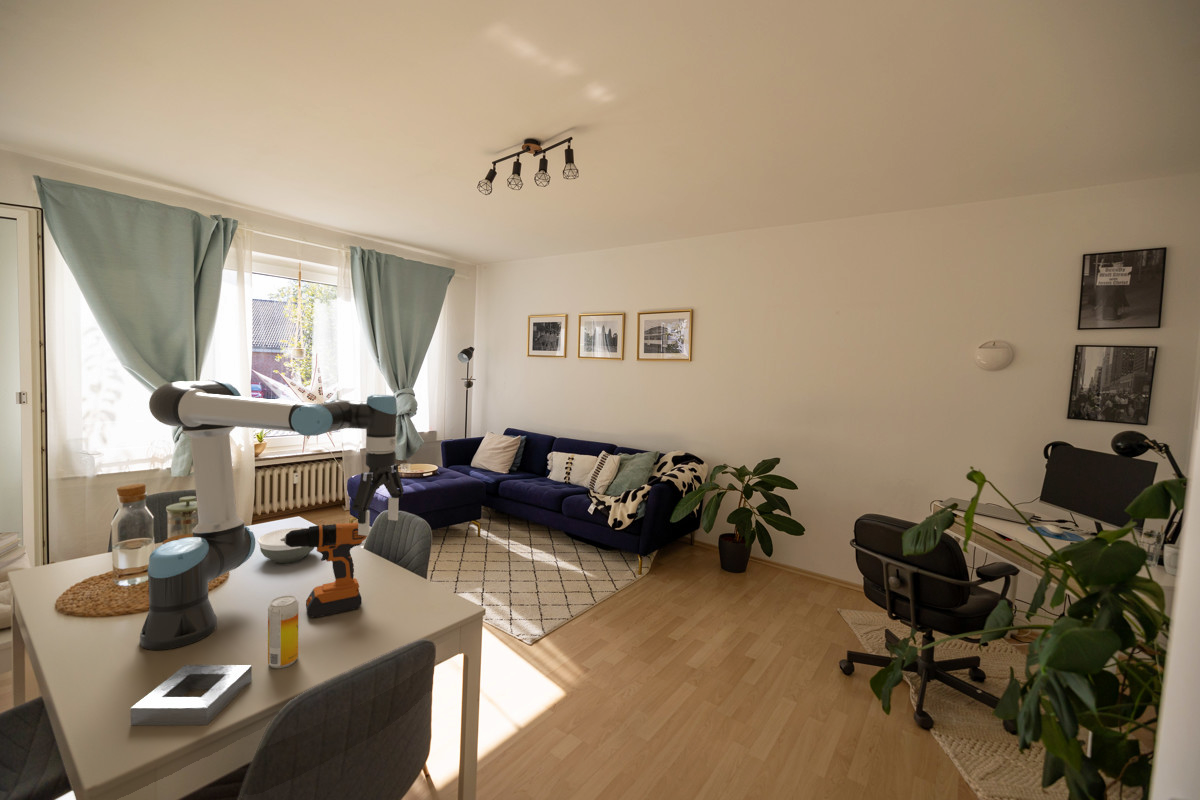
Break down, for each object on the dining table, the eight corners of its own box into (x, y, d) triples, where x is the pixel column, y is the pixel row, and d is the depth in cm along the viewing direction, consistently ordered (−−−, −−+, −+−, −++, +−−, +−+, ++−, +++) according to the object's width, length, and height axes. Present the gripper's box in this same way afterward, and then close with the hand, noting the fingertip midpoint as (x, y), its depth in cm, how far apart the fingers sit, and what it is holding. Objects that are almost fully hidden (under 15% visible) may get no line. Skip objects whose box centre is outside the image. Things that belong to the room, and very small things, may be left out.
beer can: (303, 655, 123) (303, 595, 122) (288, 670, 116) (289, 607, 115) (277, 654, 122) (278, 594, 121) (262, 669, 116) (262, 606, 115)
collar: (130, 725, 97) (130, 708, 97) (185, 680, 111) (185, 665, 111) (206, 724, 98) (206, 707, 98) (251, 680, 112) (251, 665, 112)
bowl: (267, 550, 186) (267, 528, 185) (324, 547, 192) (324, 526, 191) (249, 571, 168) (249, 546, 168) (312, 566, 174) (312, 543, 173)
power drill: (280, 625, 135) (280, 534, 134) (280, 614, 141) (280, 526, 140) (368, 607, 147) (369, 524, 145) (364, 597, 153) (365, 517, 151)
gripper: (364, 460, 125) (362, 543, 127) (417, 445, 150) (415, 515, 151) (337, 457, 127) (336, 540, 128) (394, 443, 151) (392, 513, 153)
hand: (378, 527), depth 140 cm, fingers open, 13 cm apart
